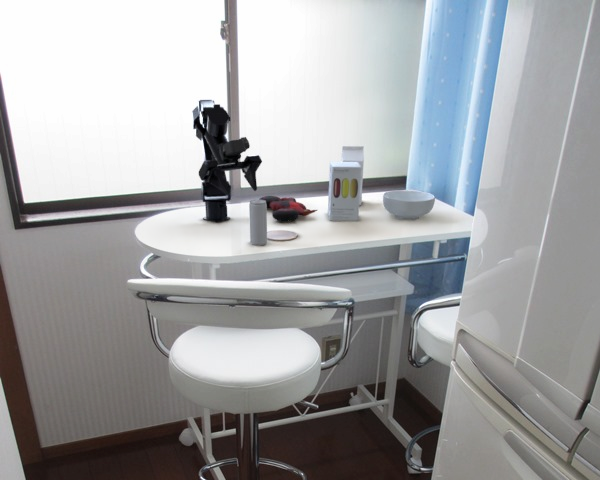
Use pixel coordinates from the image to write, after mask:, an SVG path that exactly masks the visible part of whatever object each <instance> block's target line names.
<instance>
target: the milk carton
mask: <svg viewBox="0 0 600 480" xmlns="http://www.w3.org/2000/svg"><path fill="white" fill-rule="evenodd" d="M341 149H342V150H341V162H358V163H359V165H360V166H361V182H360V198H359V206H362V200H363V199H362V198H363V181H364V161H365V160H364V159H365V158H364V156H365V155H364V146H359V145H357V146H355V145H342V147H341Z"/></svg>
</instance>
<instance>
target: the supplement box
mask: <svg viewBox="0 0 600 480" xmlns="http://www.w3.org/2000/svg"><path fill="white" fill-rule="evenodd" d="M328 175H329V177H328V198H327V216H328V218H329V221H330V222H334V221H335V222H336V221H337V222H338V221H339V222H341V221H342V222H346V221H347V222H358V221H359V213H360V205H359V198H360V182H361V166H360V165H359V163H358V162H342V161H329V174H328Z"/></svg>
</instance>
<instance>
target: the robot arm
mask: <svg viewBox="0 0 600 480" xmlns="http://www.w3.org/2000/svg"><path fill="white" fill-rule="evenodd" d="M229 122H231V116H230V115H229V113H228V111H227V110H226V109H225V107H224V106H221V104H220V103H218V104H215V100H213V99H200V100H197V106H195V108H194V109H193V110H192V111H191V126H192V130H194V133H195V134H194V135H195V137H196V138H197V139H198V140H200V141H201V147H202V155H203V160H204V161H203V162H202V164H201V166H200V168H199V170H198V177H199V178H200V180H201V189H200V194H201V195H200V196H201V200H202V202H203V203H204V206H205V216H204V217H202V220H203V221H208V222H212V223H217V224H218V223H221V222H224V221H228V220H231V217H230V216H228V205H227V202H230V200H232V185H231V184H230V181H229V180H228V179H227V175H226V172H230V171H238V170H241V171H242V173H243V174H244V175H243V177H244V179H245V180H246V181H247V183H248V185H249V186H250V187H251V189H252V190H253V191H254V192H256V191H257V190H258V183H257V171H258V169H259V167H260V166H261V164H262V163H263V160H262V158H261V156H260V155H259V154H250V155H246V157H245V158H244V159H243V160H242V161H239V160H240V159H241V158H242V153H244V152H246V151H247V150H248V149H250V141H249V140H248V138H247V137H246V136H242V137H240V138H238V139H232V140H229V139H228V137H227V133H228V127H229Z"/></svg>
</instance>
